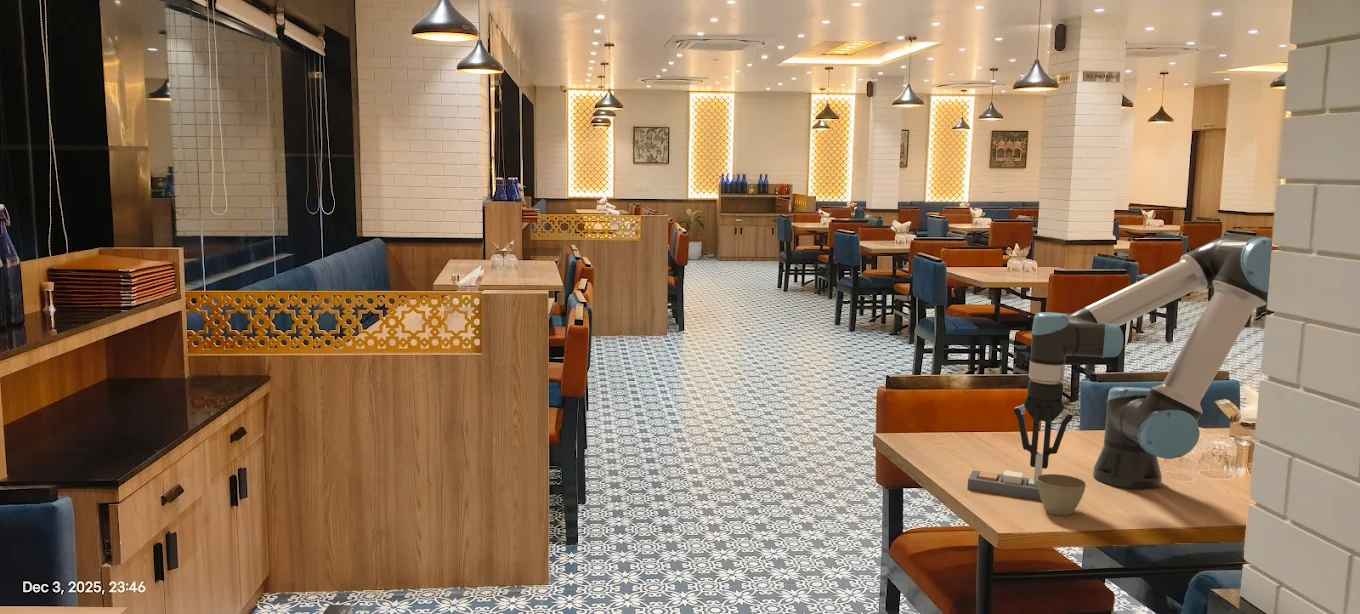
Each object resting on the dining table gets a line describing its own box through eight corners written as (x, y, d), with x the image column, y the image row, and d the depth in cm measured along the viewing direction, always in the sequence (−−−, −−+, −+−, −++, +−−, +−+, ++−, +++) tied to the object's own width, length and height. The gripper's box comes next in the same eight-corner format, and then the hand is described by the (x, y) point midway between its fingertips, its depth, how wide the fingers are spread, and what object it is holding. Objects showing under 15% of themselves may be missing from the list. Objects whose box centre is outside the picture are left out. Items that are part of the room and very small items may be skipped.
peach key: (997, 484, 230) (998, 474, 230) (995, 488, 226) (996, 478, 226) (979, 481, 232) (980, 471, 231) (977, 486, 228) (978, 475, 228)
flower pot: (1071, 504, 218) (1073, 473, 217) (1091, 520, 208) (1094, 487, 207) (1027, 504, 218) (1029, 473, 217) (1045, 519, 208) (1047, 487, 207)
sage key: (1046, 491, 226) (1047, 481, 225) (1045, 496, 222) (1046, 485, 222) (1028, 488, 227) (1029, 478, 227) (1027, 493, 224) (1027, 483, 223)
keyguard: (1056, 492, 227) (1057, 482, 226) (1054, 502, 219) (1055, 491, 219) (972, 479, 234) (972, 470, 234) (967, 488, 227) (968, 478, 227)
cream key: (1022, 483, 228) (1023, 473, 227) (1020, 488, 224) (1021, 477, 224) (1004, 480, 229) (1005, 470, 229) (1002, 485, 226) (1003, 474, 225)
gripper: (1077, 381, 222) (1068, 481, 225) (1017, 374, 227) (1009, 472, 230) (1076, 386, 215) (1067, 490, 218) (1014, 380, 220) (1006, 481, 224)
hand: (1037, 481), depth 224 cm, fingers closed
